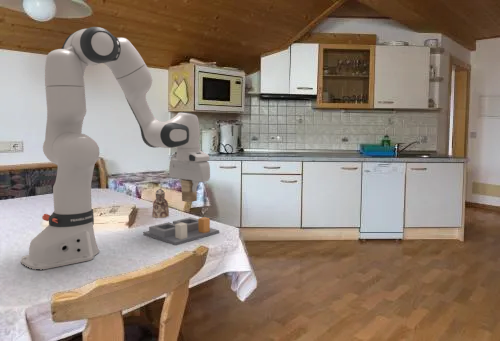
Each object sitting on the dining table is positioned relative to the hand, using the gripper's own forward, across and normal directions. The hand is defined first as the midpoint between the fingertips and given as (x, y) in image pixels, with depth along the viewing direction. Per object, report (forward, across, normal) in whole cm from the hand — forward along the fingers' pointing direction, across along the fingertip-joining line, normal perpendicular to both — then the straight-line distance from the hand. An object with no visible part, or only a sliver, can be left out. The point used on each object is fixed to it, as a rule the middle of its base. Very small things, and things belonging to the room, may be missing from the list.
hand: (189, 190), depth 164 cm
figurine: (+16, -27, +6) cm, 32 cm away
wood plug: (+4, 0, 0) cm, 4 cm away
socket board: (+15, +2, -6) cm, 17 cm away
